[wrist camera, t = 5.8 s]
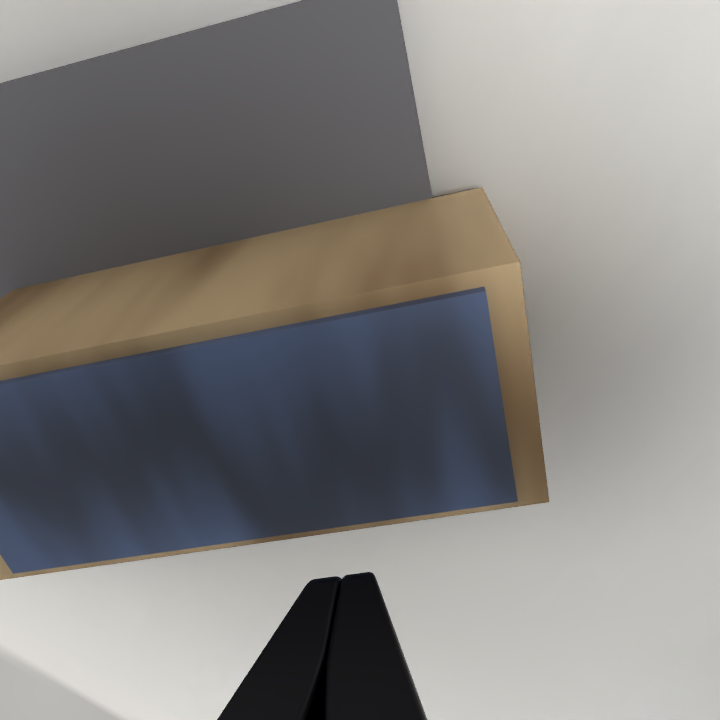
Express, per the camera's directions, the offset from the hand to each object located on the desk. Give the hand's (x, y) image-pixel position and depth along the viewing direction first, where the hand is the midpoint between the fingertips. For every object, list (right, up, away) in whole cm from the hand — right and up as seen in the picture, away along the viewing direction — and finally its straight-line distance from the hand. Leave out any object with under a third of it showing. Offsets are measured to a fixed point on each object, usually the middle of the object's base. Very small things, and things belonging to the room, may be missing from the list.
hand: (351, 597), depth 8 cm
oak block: (+3, +4, +5) cm, 7 cm away
